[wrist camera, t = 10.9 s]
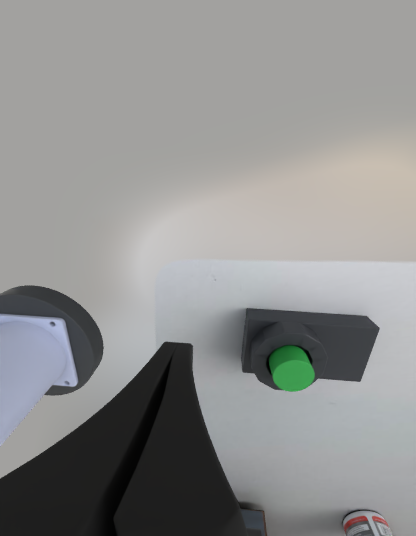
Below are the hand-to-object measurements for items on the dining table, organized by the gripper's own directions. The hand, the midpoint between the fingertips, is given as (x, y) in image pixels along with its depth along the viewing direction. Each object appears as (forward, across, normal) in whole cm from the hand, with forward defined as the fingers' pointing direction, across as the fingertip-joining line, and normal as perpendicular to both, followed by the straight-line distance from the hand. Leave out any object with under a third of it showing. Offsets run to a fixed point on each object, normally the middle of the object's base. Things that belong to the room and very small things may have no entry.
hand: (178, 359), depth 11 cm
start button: (+7, -8, +6) cm, 12 cm away
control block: (+10, -10, +6) cm, 16 cm away
